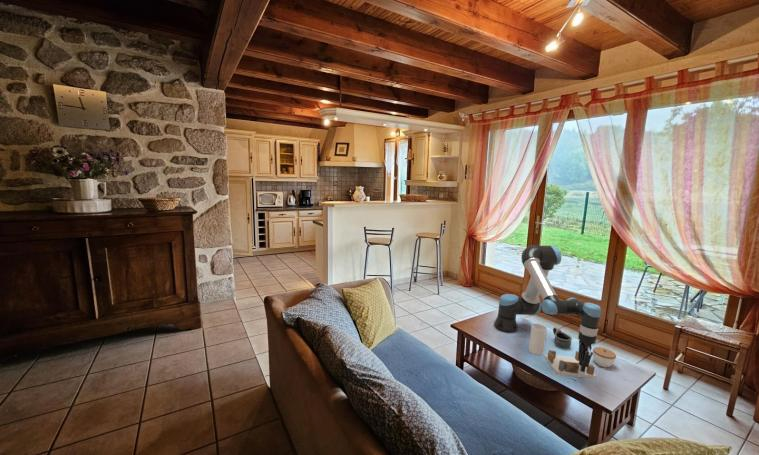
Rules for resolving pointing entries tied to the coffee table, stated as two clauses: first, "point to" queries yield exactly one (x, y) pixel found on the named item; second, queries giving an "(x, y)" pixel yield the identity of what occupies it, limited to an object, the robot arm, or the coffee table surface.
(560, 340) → the teapot
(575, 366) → the brown rectangular block
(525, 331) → the coffee table surface
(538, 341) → the cup
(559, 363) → the seat board
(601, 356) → the lidded jar
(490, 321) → the coffee table surface
